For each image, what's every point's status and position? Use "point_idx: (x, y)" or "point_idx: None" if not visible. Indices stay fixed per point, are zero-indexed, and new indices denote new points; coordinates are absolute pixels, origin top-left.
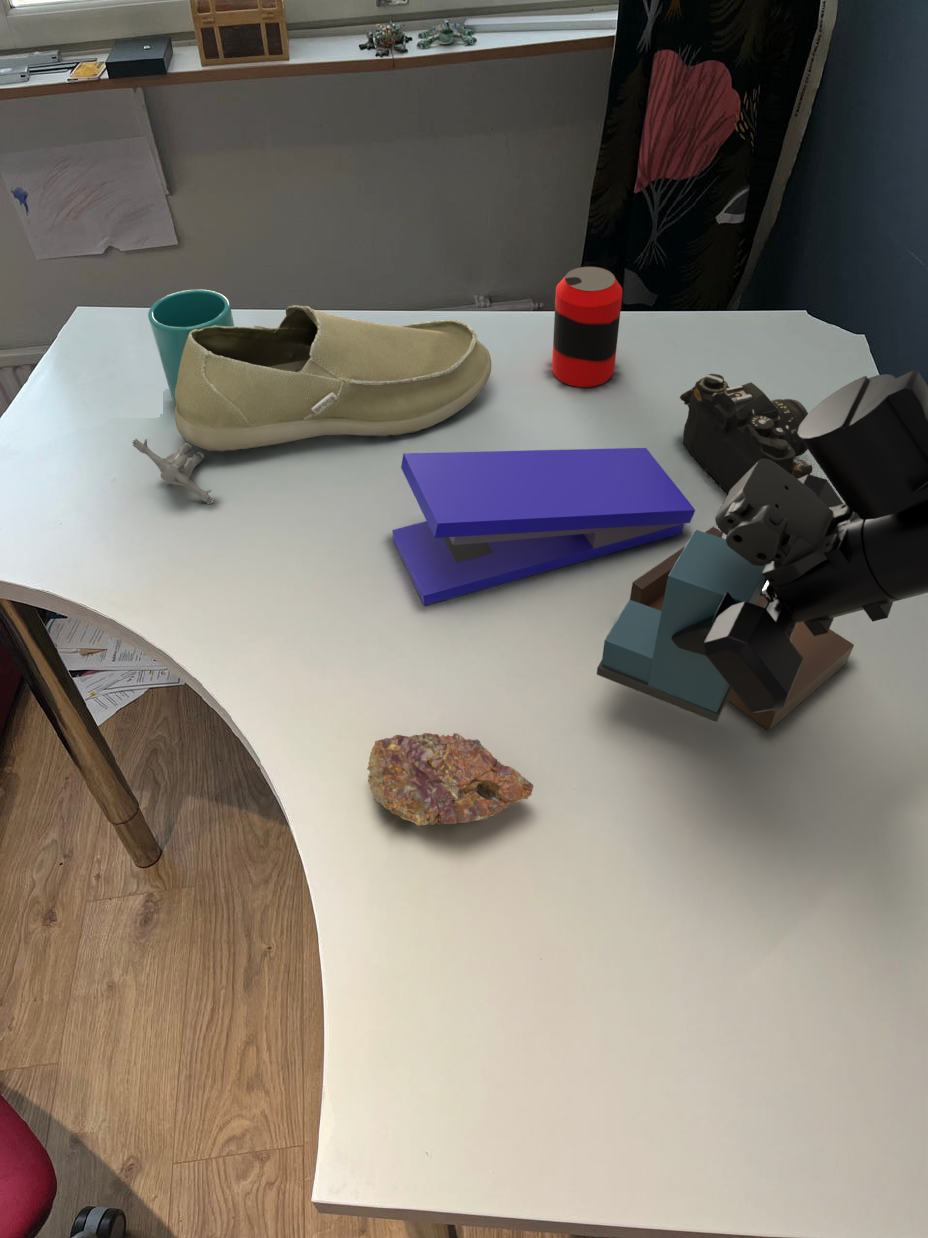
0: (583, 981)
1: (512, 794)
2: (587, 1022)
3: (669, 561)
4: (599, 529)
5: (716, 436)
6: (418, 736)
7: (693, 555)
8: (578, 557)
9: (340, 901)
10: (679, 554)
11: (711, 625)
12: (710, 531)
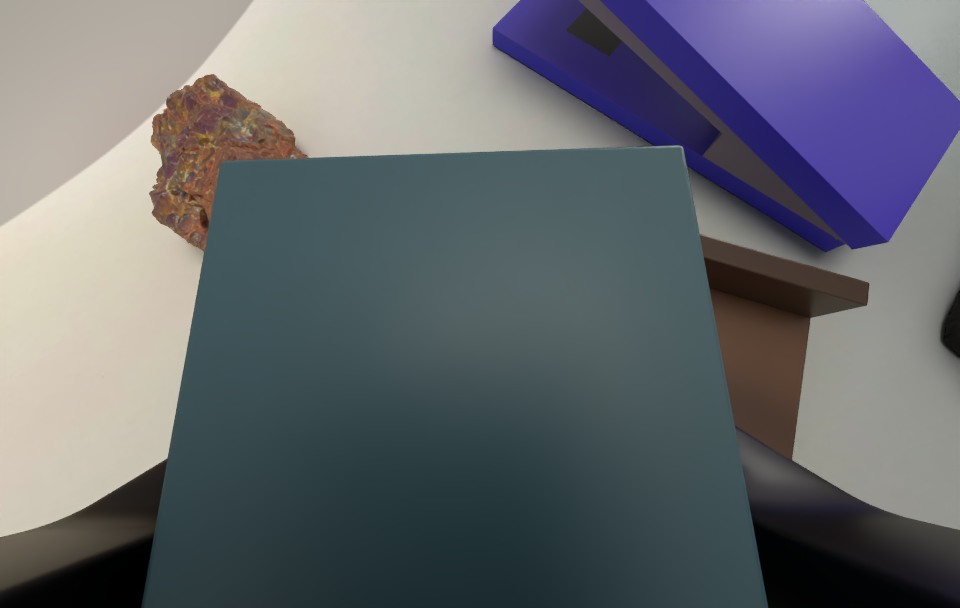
0: (90, 432)
1: None
2: (45, 457)
3: (726, 249)
4: (731, 133)
5: None
6: (263, 116)
7: (446, 215)
8: None
9: (105, 171)
10: (754, 257)
11: (119, 496)
12: (852, 283)
